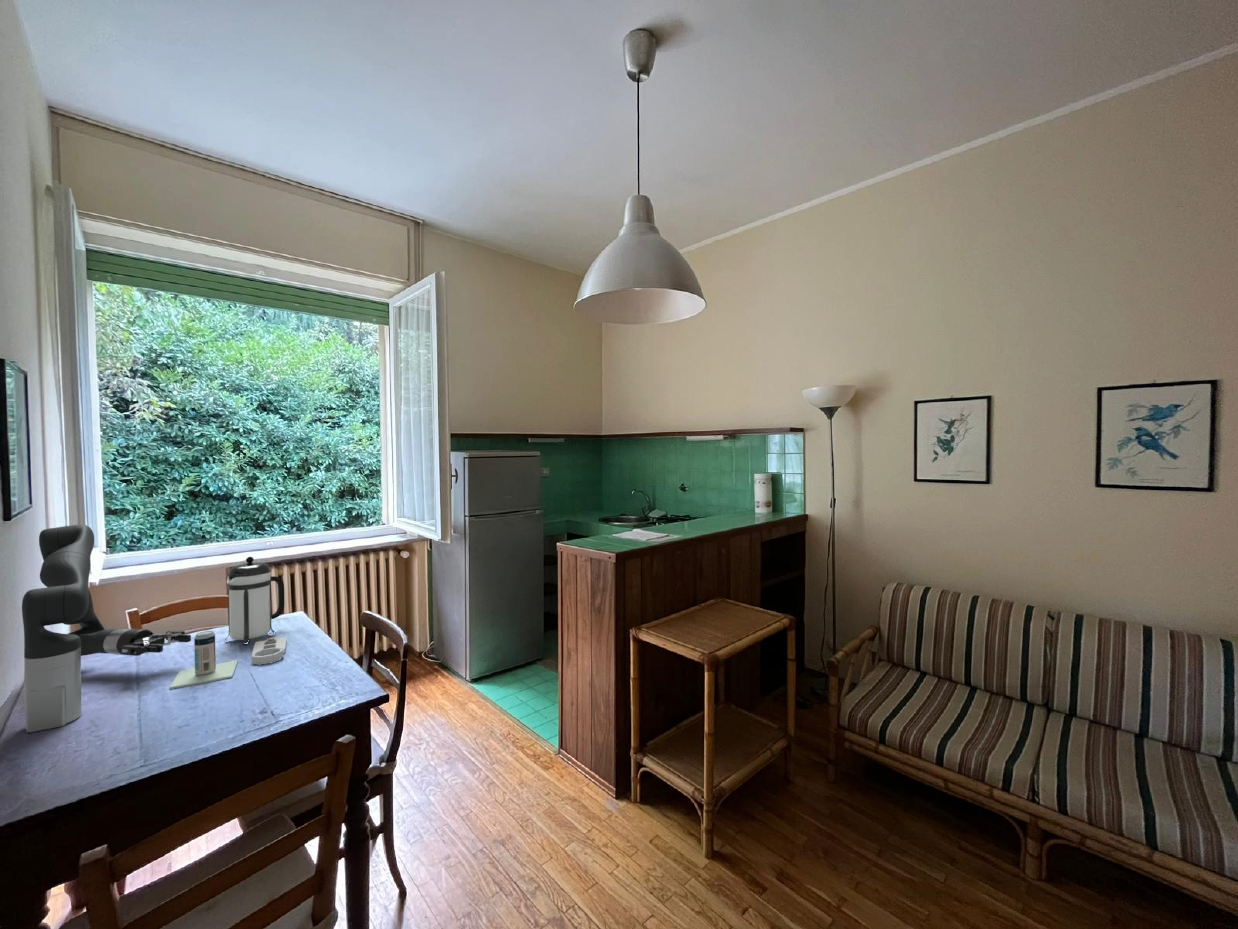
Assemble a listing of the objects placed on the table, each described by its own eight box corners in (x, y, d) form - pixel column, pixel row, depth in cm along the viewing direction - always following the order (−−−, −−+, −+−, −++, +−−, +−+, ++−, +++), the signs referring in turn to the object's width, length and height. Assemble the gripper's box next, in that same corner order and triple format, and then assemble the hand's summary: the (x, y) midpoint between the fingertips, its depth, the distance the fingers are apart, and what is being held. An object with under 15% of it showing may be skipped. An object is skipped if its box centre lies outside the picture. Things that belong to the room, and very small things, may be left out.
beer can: (219, 669, 152) (219, 630, 152) (207, 676, 147) (206, 635, 147) (203, 669, 152) (203, 630, 152) (190, 676, 147) (190, 636, 147)
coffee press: (272, 642, 177) (271, 558, 177) (217, 649, 171) (216, 562, 171) (285, 627, 193) (284, 550, 193) (235, 633, 187) (234, 554, 187)
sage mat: (232, 677, 147) (232, 675, 147) (169, 689, 140) (169, 687, 140) (237, 662, 159) (237, 660, 159) (180, 672, 151) (180, 670, 151)
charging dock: (283, 660, 160) (283, 653, 160) (249, 667, 155) (249, 659, 155) (286, 641, 178) (286, 634, 178) (255, 646, 173) (255, 639, 173)
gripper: (102, 637, 145) (151, 639, 143) (153, 622, 159) (198, 623, 157) (102, 663, 145) (151, 665, 143) (153, 645, 159) (198, 647, 157)
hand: (176, 643), depth 150 cm, fingers open, 8 cm apart
